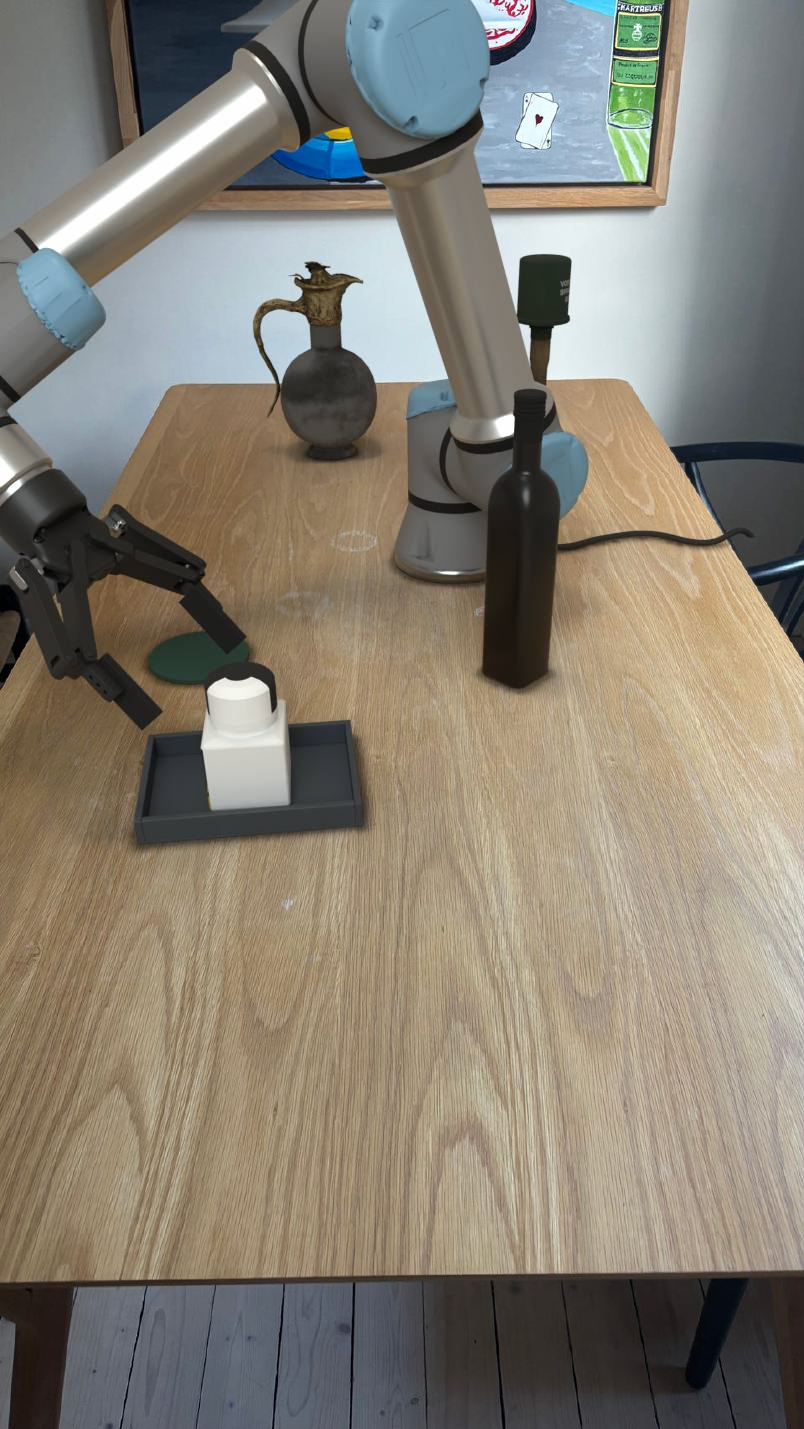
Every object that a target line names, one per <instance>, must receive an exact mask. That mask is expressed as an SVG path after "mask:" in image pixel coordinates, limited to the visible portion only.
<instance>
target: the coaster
mask: <svg viewBox="0 0 804 1429" xmlns="http://www.w3.org/2000/svg"><path fill="white" fill-rule="evenodd" d="M249 657H250V651H249V647H248V645H247V643H246V642H245V640H243V641H242V642H241V643H240V644H239V645H238V646H237V647H235V648H234V649H233V650H232V651H231V652H230V653H229V654H228V655H227V654H226V653H225V652H224V651H223V650H222V649H221V648H220V647H219V646H218V645H217V644H216V642H215V641H214V640H213V639H212V638H211V637H210V636H209V635H208V634H207V633H206V632H205V631H204V630H203V631H193V632H187V633H182V634H179V635H175V636H172V637H171V638H168V639H166V640H164V641H162V642H160V643H159V644H158V645H156V646H155V647H154V648H153V649H152V650H151V652H150V653H149V655H148V661H147V663H148V667H149V670H150V671H151V672H152V674H153V675H155V676H156V677H157V678H159V679H161V680H163V681H167V682H170V683H175V684H181V685H200V684H204V681H205V679H206V677H207V676H208V675H209V673H210V672H211V671H213V670H214V669H216V668H218V667H220V666H222V665H225V664H228V663H233V662H248V661H249Z"/></svg>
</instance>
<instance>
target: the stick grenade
mask: <svg viewBox="0 0 804 1429" xmlns="http://www.w3.org/2000/svg"><path fill="white" fill-rule="evenodd" d="M518 262H519V263H518V279H517V280H518V281H517V283H518V285H517V301H516V302H517V303H516V314H517V318H518V322H519V325H523V326H528V328H529V329H530V334H529V335H530V336H529V338H530V345H529V363H530V367H531V371H532V375H533V379H534V381H536V382H538V383H540V384H543V385H545V386H547V381H548V367H549V363H550V358H551V344H552V343H551V342H552V341H551V340H552V338H553V337H552V335H553V329H554V328H555V327H556V326H563V325H567V324H569V322H571V316H570V315H569V306H570V293H571V278H572V265H573V264H572V262H573V261H572V259H571V257H569V256H566V255H563V254H556V253H536V254H535V253H533V254H527V255H524V256H522V257H520V258H519V261H518Z"/></svg>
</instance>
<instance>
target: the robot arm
mask: <svg viewBox="0 0 804 1429" xmlns="http://www.w3.org/2000/svg"><path fill="white" fill-rule="evenodd" d="M490 71H491V51H490V43H489V37H488V34H487V30H486V27H485V24H484V22H483V20H482V17H481V15H480V13H479V11H478V10H477V7H476V6H475V4H474V2H473V1H472V0H298V2H296V3H295V4H294V5H292V6H291V7H290V8H289V9H288V10H286V11H285V12H284V13H283V14H281V15H280V16H279V17H278V18H276V19H275V20H273V21H272V22H271V23H270V24H269V25H267V27H265V28H264V29H262V30H261V31H260V32H259V33H258V34H257V35H256V36H254V37H253V38H252V39H250V40H249V41H248V42H246V43H244V45H242V46H241V47H239V48H238V49H237V50H235V52H234V54H233V57H232V64H231V70H230V71H229V72H227V73H226V74H224V75H223V76H222V77H220V78H219V79H218V80H216V81H215V82H214V83H212V84H210V85H209V86H208V87H207V88H205V89H204V90H202V91H201V92H199V94H197V95H196V96H194V97H193V98H191V99H190V100H189V101H187V102H186V103H185V104H183V105H182V106H181V107H179V108H178V109H177V110H175V111H174V112H172V113H171V114H170V115H169V116H167V117H165V119H163V120H162V121H160V122H159V123H157V124H156V125H154V126H153V127H152V128H151V129H150V130H148V131H147V132H145V133H144V134H143V135H141V136H140V137H138V138H137V139H136V140H134V141H133V142H131V143H130V144H129V145H128V146H126V147H125V148H124V149H122V150H121V151H119V152H118V153H117V154H115V155H114V156H112V157H111V158H110V159H109V160H107V161H106V162H104V163H103V164H102V165H100V166H99V167H97V168H96V169H95V170H94V171H92V172H91V173H89V174H88V175H87V176H85V177H84V178H83V179H81V180H80V181H78V182H77V183H76V184H74V185H73V186H72V187H71V188H68V189H67V190H66V191H65V192H64V193H62V194H61V195H59V196H58V197H56V198H55V199H54V200H52V201H50V203H48V204H47V205H46V206H44V207H43V208H42V209H40V210H39V211H37V212H36V213H35V214H34V215H32V216H31V217H29V218H28V219H27V220H25V221H24V222H22V223H21V224H20V225H19V226H18V227H17V228H15V229H13V231H10V233H7V234H6V235H5V236H3V237H2V238H0V538H1V539H2V540H3V541H4V542H5V544H7V546H9V548H10V549H11V550H12V551H13V552H14V553H15V554H16V555H18V556H20V558H19V559H18V560H17V561H16V563H15V564H14V565H13V567H11V569H10V571H8V573H7V575H6V576H5V582H6V583H7V584H8V585H9V587H10V588H11V589H12V591H13V592H14V593H15V594H16V595H17V597H18V598H19V599H20V601H21V604H22V606H23V610H24V611H25V615H26V617H27V619H28V621H29V624H30V626H31V629H32V632H33V634H34V636H35V639H36V641H37V644H38V647H39V649H40V651H41V655H42V657H43V660H44V662H45V664H46V667H47V670H48V672H49V674H50V676H51V677H52V678H53V679H54V680H57V681H61V680H63V679H64V678H65V677H68V678H69V679H71V680H73V681H75V680H78V679H79V678H80V677H81V678H82V679H84V680H85V681H86V683H88V684H89V685H90V687H92V689H93V690H94V691H95V692H96V693H97V695H99V696H100V697H101V698H102V699H103V700H104V701H105V702H107V703H109V704H111V703H112V702H114V703H115V705H116V706H117V707H118V708H119V709H120V710H121V711H122V712H123V713H124V714H125V715H126V716H127V717H128V718H129V719H130V720H131V721H132V722H133V724H135V725H136V726H137V728H138V729H139V730H140V731H142V732H143V731H144V730H145V729H146V728H148V726H149V725H151V724H152V723H153V722H154V721H155V720H156V719H158V718H159V716H161V715H162V714H163V713H164V710H163V709H162V708H161V707H160V706H159V705H158V704H157V703H156V702H155V701H154V700H153V698H152V697H151V696H150V695H148V693H146V691H145V690H144V689H143V688H142V687H141V686H140V685H139V684H138V683H137V682H136V681H135V680H134V679H133V677H132V676H130V674H129V673H128V672H127V671H126V670H125V669H124V668H123V667H122V666H121V665H120V664H119V662H117V661H116V660H115V658H114V657H113V656H112V655H111V654H110V653H109V652H105V653H104V654H102V656H100V658H98V657H99V655H98V649H97V643H96V639H95V632H94V624H93V619H92V612H91V608H90V600H89V595H88V590H89V589H90V588H91V587H92V585H94V584H95V583H96V582H100V581H102V580H104V579H106V578H107V576H109V575H111V576H119V575H123V576H126V577H128V578H131V579H134V580H137V581H140V582H142V583H146V584H149V585H151V586H154V587H157V588H160V589H163V590H165V591H169V592H172V593H175V594H177V595H180V596H183V597H182V598H181V599H180V600H179V601H178V604H180V606H181V607H182V608H183V609H184V610H185V611H186V613H188V614H189V616H190V617H191V618H192V619H193V620H194V621H195V622H196V623H197V624H198V626H200V627H201V628H202V630H203V631H205V632H206V633H207V634H208V635H209V636H210V637H211V638H212V639H213V640H214V641H215V642H216V644H217V645H218V646H219V647H220V648H221V649H222V650H223V651H224V652H225V653H226V654H227V655H228V654H229V653H230V652H231V651H232V650H233V649H234V648H235V647H237V646H238V645H239V644H240V643H241V642H242V641H245V640H246V639H247V638H248V636H247V635H246V634H245V633H244V632H243V630H241V628H240V627H239V626H238V625H237V624H236V622H234V621H233V619H232V618H231V617H230V616H229V615H228V614H227V612H225V611H224V607H223V605H222V603H221V602H220V600H218V599H217V597H216V596H214V594H213V593H212V592H211V591H210V590H209V589H208V588H207V587H206V585H204V583H203V582H202V579H204V578H205V577H206V571H205V569H206V568H207V567H208V565H207V562H206V561H205V559H203V558H202V557H200V556H199V555H197V554H195V553H193V552H191V551H190V550H188V549H187V548H185V547H183V546H181V545H180V544H178V543H176V542H174V541H173V540H171V539H169V538H168V537H166V536H164V535H163V534H161V533H159V532H157V531H156V530H154V529H153V528H151V527H149V526H147V525H146V524H144V523H143V522H141V521H139V520H137V519H136V518H135V517H134V516H133V515H132V513H130V512H129V511H128V510H127V509H126V508H124V506H122V505H121V504H118V503H114V504H113V505H112V506H111V507H110V509H109V510H108V511H107V512H106V513H105V514H104V516H103V517H102V518H99V517H97V516H96V515H94V514H93V513H92V512H91V511H90V509H89V507H88V499H87V497H86V495H85V494H84V493H83V492H82V491H81V490H80V488H78V486H77V485H76V484H75V483H74V482H73V481H72V480H71V479H70V478H69V477H68V475H67V474H66V473H65V472H64V471H63V470H62V469H60V468H53V464H54V463H53V462H54V461H53V459H52V458H51V457H50V455H48V454H47V452H46V451H45V450H44V449H43V448H42V447H41V446H40V445H39V443H37V441H35V439H33V437H32V436H31V435H30V434H29V432H27V431H26V430H25V429H24V428H23V427H22V426H21V425H20V424H19V422H17V420H16V419H15V418H14V417H12V416H11V414H10V413H9V411H8V410H9V409H10V408H11V407H12V406H13V405H15V404H16V403H17V402H19V401H20V400H21V399H23V397H24V396H26V395H27V394H28V393H29V392H30V391H31V390H33V389H34V388H35V387H36V386H37V385H38V384H39V383H41V382H42V381H43V380H44V379H46V378H47V377H48V376H49V375H50V374H51V373H53V372H54V371H55V370H57V368H59V367H60V366H61V365H62V364H64V363H65V362H66V361H67V360H69V358H70V357H72V356H73V355H74V354H75V353H77V352H79V351H80V350H82V349H84V348H85V347H86V344H87V343H88V342H89V341H90V340H91V339H92V338H93V337H94V335H95V334H96V333H97V332H98V331H99V330H101V329H102V327H103V326H104V325H105V323H106V320H107V312H106V310H105V307H104V305H103V304H102V302H101V300H100V299H99V298H98V297H97V295H96V294H95V293H94V291H93V290H92V287H94V286H95V285H96V284H98V283H99V282H101V281H102V280H103V279H104V278H106V277H108V276H109V275H110V274H112V273H113V272H115V271H116V270H117V269H119V268H120V267H121V266H123V265H124V264H125V263H126V262H128V261H129V260H130V259H132V258H133V257H134V256H136V255H137V254H139V253H140V252H141V251H143V250H144V249H145V248H146V247H148V246H149V245H150V244H152V243H153V242H155V241H156V240H157V239H159V238H160V237H161V236H163V235H164V234H166V233H167V232H168V231H169V230H171V229H172V228H174V227H175V226H176V225H178V224H179V223H180V222H182V221H183V220H184V219H186V218H187V217H189V216H190V215H192V214H193V213H194V212H195V211H196V210H198V209H200V208H201V207H202V206H203V205H204V204H206V203H208V202H209V201H210V200H212V199H213V198H215V197H216V196H217V195H218V194H220V193H221V192H222V191H223V190H225V189H226V188H228V187H229V186H230V185H232V184H233V183H234V182H236V181H237V180H239V179H240V178H241V177H242V176H244V175H246V174H247V173H248V172H249V171H251V170H252V169H253V168H255V167H256V166H257V165H258V164H260V163H262V162H263V161H264V160H266V159H267V158H268V157H270V156H271V155H272V154H274V153H276V152H277V150H282V151H284V152H288V153H294V152H296V151H297V150H299V149H300V148H302V147H303V146H304V145H306V144H307V143H308V142H310V141H311V140H313V139H314V138H316V137H319V136H321V135H322V134H326V133H328V132H331V131H335V130H339V129H344V128H345V129H346V128H349V129H348V130H349V133H350V136H351V139H352V142H353V145H354V147H355V151H356V154H357V156H358V160H359V163H360V165H361V168H362V171H363V174H364V175H365V176H367V177H368V178H371V179H372V180H374V181H376V182H379V183H380V184H382V185H383V186H385V189H386V192H387V194H388V197H389V201H390V204H391V207H392V210H393V214H394V216H395V220H396V223H397V226H398V228H399V231H400V232H399V233H400V234H401V235H400V236H401V238H402V240H403V243H404V247H405V249H406V250H405V251H406V253H407V256H408V259H409V263H410V265H411V269H412V271H413V274H414V277H415V281H416V284H417V287H418V289H419V294H420V297H421V299H422V302H423V306H424V308H425V311H426V314H427V317H428V320H429V324H430V327H431V330H432V333H433V336H434V339H435V343H436V345H437V348H438V351H439V354H440V357H441V361H442V364H443V366H444V370H445V372H446V376H447V378H444V379H443V378H442V379H437V380H431V381H428V382H427V381H426V382H423V383H421V384H418V385H416V386H415V387H413V388H412V389H411V390H410V392H409V394H408V397H407V405H406V406H407V407H406V414H405V421H406V426H407V427H406V437H407V442H406V443H407V444H406V445H407V506H406V509H405V512H404V515H403V518H402V520H401V524H400V527H399V530H398V534H397V537H396V540H395V543H394V562H395V565H396V566H397V567H398V568H399V569H400V570H401V571H402V572H403V573H405V574H407V575H409V576H411V577H414V578H417V579H420V580H423V581H428V582H431V583H432V582H433V583H439V584H465V583H467V584H469V583H475V582H480V581H485V574H486V546H487V518H488V501H489V496H490V493H491V490H492V487H493V486H494V484H495V483H496V481H497V479H498V478H500V477H501V476H502V475H503V474H504V473H505V472H506V471H507V470H509V469H510V468H511V467H512V460H513V441H514V440H513V436H514V418H515V417H514V416H513V410H514V393H515V392H516V391H517V390H521V389H538V390H543V391H545V392H546V393H547V399H546V405H545V406H546V409H545V410H546V415H545V417H544V423H543V440H542V453H541V468H542V469H543V470H544V471H545V472H546V473H548V474H549V476H550V477H551V478H552V479H553V480H554V482H555V484H556V485H557V487H558V492H559V496H560V503H561V508H560V521H561V520H562V519H564V517H566V515H568V514H569V512H570V511H571V510H572V509H573V508H574V506H576V504H577V502H578V499H579V496H580V495H581V493H582V492H584V489H585V487H586V483H587V480H588V476H589V469H590V468H589V463H590V462H589V456H588V452H587V449H586V448H585V446H584V444H583V443H582V441H581V440H580V439H578V438H577V436H576V435H575V434H573V433H572V432H569V431H567V430H564V429H563V428H562V425H561V422H560V418H559V414H558V408H557V405H556V402H555V397H554V395H553V392H552V390H551V389H550V387H548V386H547V385H546V386H545V385H543V384H540V383H538V382H536V381H534V379H533V375H532V371H531V367H530V359H529V357H528V352H527V349H526V344H525V341H524V337H523V333H522V330H521V327H520V324H519V322H518V318H517V310H516V308H515V304H514V300H513V297H512V293H511V288H510V285H509V280H508V277H507V273H506V269H505V266H504V262H503V258H502V254H501V251H500V246H499V244H498V240H497V235H496V231H495V228H494V224H493V220H492V217H491V213H490V209H489V204H488V202H487V198H486V194H485V190H484V187H483V183H482V179H481V174H480V171H479V168H478V164H477V159H476V156H475V150H476V145H477V144H478V142H479V140H480V138H481V136H482V133H483V132H484V130H485V123H484V122H485V121H484V119H483V115H482V112H481V107H480V106H481V105H482V104H481V103H482V101H483V100H484V97H485V92H486V91H485V90H484V89H485V85H486V82H488V81H489V79H490ZM739 534H742V535H744V536H745V537H746V538H755V535H754V533H753V532H752V531H751V530H750V529H748V528H746V527H734V528H733V529H730V530H728V531H727V532H725V533H724V534H722V535H719V536H717V537H714V538H709V539H696V538H690V537H684V536H680V535H677V534H672V533H669V532H665V531H664V532H663V531H658V530H625V531H619V532H613V533H607V534H600V535H596V536H590V537H588V538H584V539H581V540H577V541H574V542H573V541H572V542H567V543H558V547H557V551H567V550H575V549H578V548H582V547H585V546H589V545H593V544H596V543H601V542H607V541H613V540H619V539H626V538H638V537H639V538H640V537H641V538H646V537H647V538H658V539H664V540H668V541H671V542H675V543H678V544H679V543H680V544H684V545H688V546H697V547H711V546H715V545H718V544H722V543H724V542H725V541H727V540H729V539H730V538H732V537H734V536H736V535H739ZM26 557H27V558H26ZM187 565H188V566H187ZM45 578H46V579H49V580H51V581H53V586H54V593H55V599H56V602H55V599H54V597H53V594H52V592H51V590H50V587H49V585H48V582H47V581H46V580H45ZM56 603H57V604H59V606H60V611H61V613H60V612H59V609H58V606H57V604H56Z"/></svg>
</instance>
